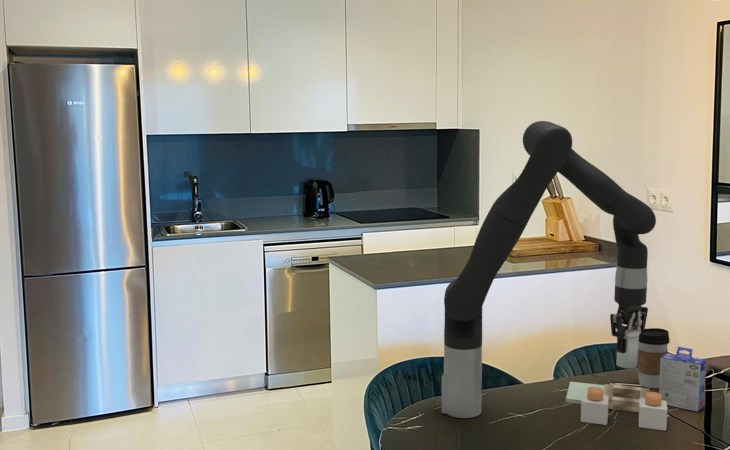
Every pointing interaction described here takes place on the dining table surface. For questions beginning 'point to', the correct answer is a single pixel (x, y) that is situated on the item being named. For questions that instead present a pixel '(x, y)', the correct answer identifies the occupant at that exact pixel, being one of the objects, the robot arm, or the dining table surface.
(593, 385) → the mat
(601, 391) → the plunger left
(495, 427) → the dining table surface
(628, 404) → the collar
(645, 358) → the coffee cup
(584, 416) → the plunger posts
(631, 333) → the canister
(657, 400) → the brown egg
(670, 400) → the ink cartridge box
